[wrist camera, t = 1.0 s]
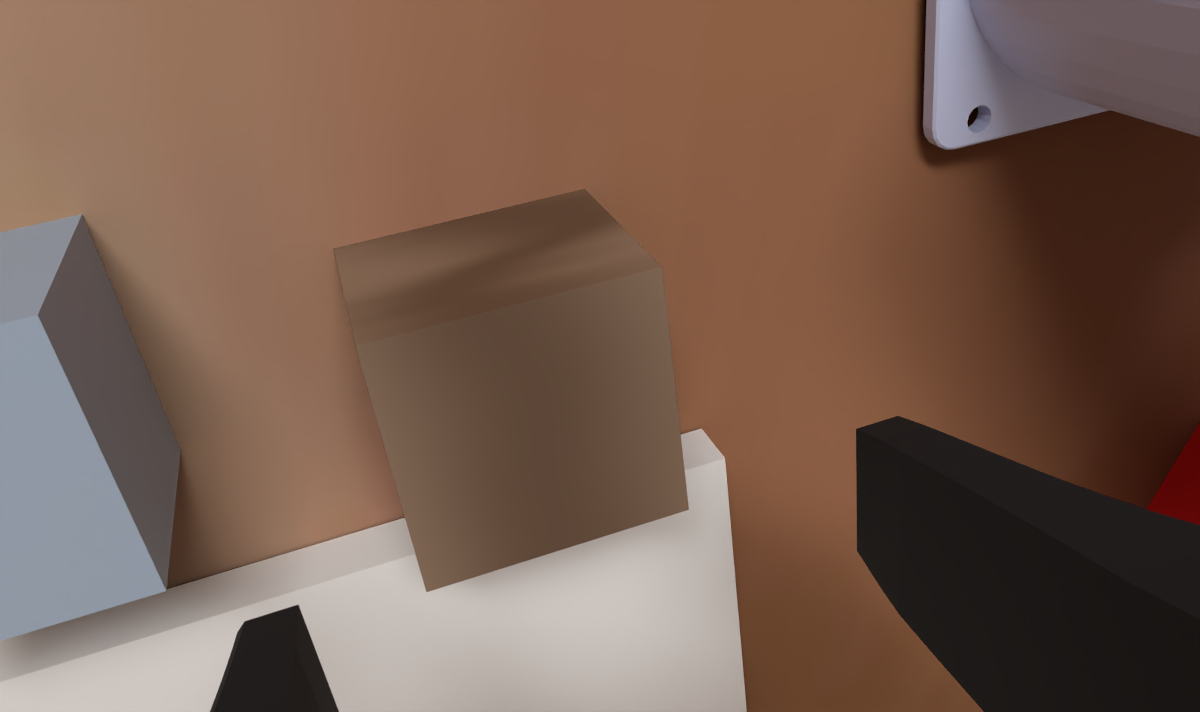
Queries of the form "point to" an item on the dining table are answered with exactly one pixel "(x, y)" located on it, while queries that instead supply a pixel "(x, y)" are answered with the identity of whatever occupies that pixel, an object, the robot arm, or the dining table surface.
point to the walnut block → (518, 381)
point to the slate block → (75, 438)
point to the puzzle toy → (1182, 485)
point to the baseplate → (433, 626)
